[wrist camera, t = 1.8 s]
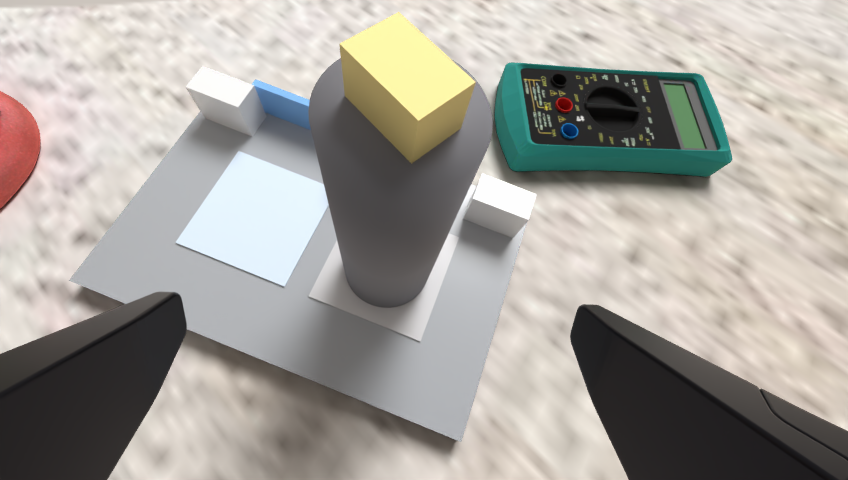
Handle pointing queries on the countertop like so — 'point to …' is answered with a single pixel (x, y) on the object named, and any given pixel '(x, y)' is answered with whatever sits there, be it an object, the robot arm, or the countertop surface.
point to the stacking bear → (16, 146)
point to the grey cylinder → (396, 154)
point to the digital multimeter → (608, 121)
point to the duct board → (306, 261)
